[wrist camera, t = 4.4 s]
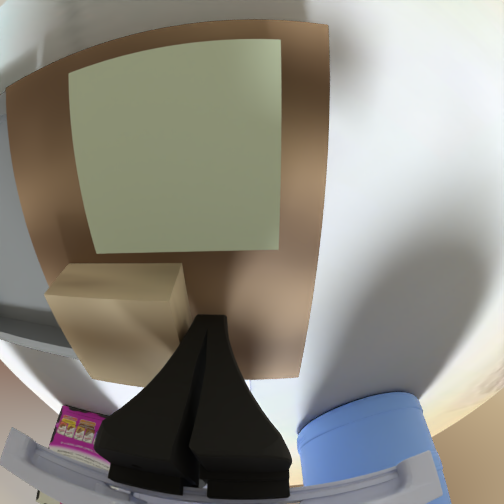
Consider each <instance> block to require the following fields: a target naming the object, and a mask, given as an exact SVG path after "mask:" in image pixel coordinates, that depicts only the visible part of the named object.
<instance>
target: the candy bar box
mask: <svg viewBox="0 0 504 504" xmlns="http://www.w3.org/2000/svg"><path fill="white" fill-rule="evenodd" d="M107 417H109V416H106V415H101V414H97V413H92V412H88V411H84V410H80V409H76V408H72V407H68V406H65V405H63V406H62V408H61V411H60V414H59V417H58V420H57V423H56V425H55V429H54V432H53V435H52V438H51V441H50V444H49V448H48V449H50V450H53V451H55V452H57V453H60V454H62V455H64V456H67V457H69V458H72V459H74V460H77V461H80V462H83V463H85V464H88V465H91V466H94V467H97V468H100V469H104V470H107V471H109V469H110V464H111V463H110V462H108V461H107V460H106V459H104V458H103V457H101V456H100V455H99V454H98V453H96V452H95V450H94V448H93V447H94V443H95V439H96V436H97V432H98V429H99V427H100V425H101V423H102V421H103V420H104V419H106V418H107ZM110 487H111V488H113V489H116V490H118V488H116V487H113V486H110ZM36 501H37V502H38V503H40V504H62V503H61V502H59V501H57V500H55V499H53V498H51V497H49V496H48V495H46V494H44V493H42V492H41V491H39V490H38V492H37V497H36Z"/></svg>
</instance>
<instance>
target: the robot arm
mask: <svg viewBox="0 0 504 504" xmlns="http://www.w3.org/2000/svg"><path fill="white" fill-rule="evenodd" d="M93 448H94V450H95V452H96V453H98V454H99V455H100V456H101V457H103V458H104V459H106V460H107V461H108V462H110V463H111V464H110V469H109V471H107V470H104V469H100V468H97V467H94V466H91V465H88V464H85V463H83V462H80V461H77V460H74V459H72V458H69V457H67V456H64V455H62V454H60V453H57V452H55V451H53V450H50V449H48V448H46V447H44V446H42V445H40V444H38V443H36V441H34V440H33V439H32V438H30V437H29V436H27V435H25V434H24V433H22V432H20V431H18V430H17V429H15V428H13V427H12V428H11V430H10V433H9V435H8V438H7V441H6V444H5V447H4V450H3V453H2V456H1V459H0V465H1V466H3V467H4V468H5V469H7V470H8V471H10V472H11V473H13V474H14V475H16V476H17V477H19V478H20V479H22V480H23V481H25V482H26V483H28V484H29V485H31V486H33V487H34V488H36V489H37V490H39V491H41V492H42V493H44V494H46V495H48V496H49V497H51V498H53V499H55V500H57V501H59V502H61V503H62V504H287V503H297V502H300V503H299V504H426V503H428V502H430V501H432V500H434V499H436V498H438V497H440V496H442V495H443V492H442V488H441V484H440V481H439V477H438V474H437V470H436V467H435V464H434V461H433V458H432V454H431V451H429V450H428V451H425V452H423V453H420V454H418V455H415V456H413V457H410V458H407V459H405V460H403V461H401V462H400V463H399V464H397V466H394V467H391V468H387V469H384V470H381V471H377V472H374V473H370V474H366V475H362V476H358V477H354V478H350V479H345V480H340V481H335V482H330V483H324V484H318V485H311V486H303V487H294V488H289V468H290V466H291V464H292V458H291V454H290V452H289V450H288V448H287V446H286V444H285V442H284V440H283V438H282V436H281V434H280V433H279V431H278V430H277V429H276V428H275V427H274V425H273V424H272V423H271V422H270V420H269V419H268V418H267V416H266V415H265V413H264V412H263V411H262V409H261V408H260V406H259V404H258V403H257V401H256V400H255V398H254V397H253V395H252V393H251V384H250V380H244V378H243V376H242V374H241V372H240V369H239V367H238V364H237V362H236V359H235V357H234V354H233V351H232V347H231V344H230V340H229V334H228V323H227V316H226V315H210V314H197V315H196V316H195V318H194V320H193V322H192V324H191V326H190V328H189V330H188V331H187V333H186V335H185V336H184V338H183V340H182V341H181V343H180V344H179V346H178V347H177V349H176V350H175V352H174V353H173V355H172V356H171V357H170V359H169V360H168V361H167V363H166V364H165V365H164V367H163V368H162V369H161V370H160V372H159V373H158V374H157V375H156V376H155V377H154V378H153V379H152V380H151V382H150V383H149V384H148V385H147V386H146V387H145V388H144V389H143V390H142V391H141V392H139V393H138V394H137V395H136V396H135V397H134V398H133V399H131V400H130V401H129V402H128V403H127V404H125V405H124V406H123V407H122V408H120V409H119V410H117V411H116V412H114V413H113V414H112V415H110V416H109V417H107V418H106V419H104V420H103V421H102V423H101V425H100V427H99V429H98V432H97V436H96V439H95V443H94V447H93ZM110 486H113V487H116V488H118V490H116V489H113V488H111V487H110Z"/></svg>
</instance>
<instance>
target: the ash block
mask: <svg viewBox="0 0 504 504" xmlns="http://www.w3.org/2000/svg"><path fill="white" fill-rule="evenodd" d="M44 296H45V298H46V300H47V302H48V304H49V306H50V308H51V310H52V312H53V314H54V316H55V318H56V320H57V322H58V324H59V326H60V328H61V330H62V331H63V333H64V335H65V337H66V338H67V340H68V342H69V344H70V345H71V347H72V349H73V350H74V352H75V353H76V355H77V357H78V358H79V360H80V361H81V363H82V364H83V366H84V368H85V369H86V371H87V372H88V374H89V375H90V376H91V378H92V379H96V380H101V381H106V382H112V383H118V384H124V385H131V386H138V387H146V386H147V385H148V384H149V383H150V382H151V380H152V379H153V378H154V377H155V376H156V375H157V374H158V373H159V372H160V370H161V369H162V368H163V367H164V365H165V364H166V363H167V361H168V360H169V359H170V357H171V356H172V355H173V353H174V352H175V350H176V349H177V347H178V346H179V344H180V343H181V341H182V340H183V338H184V336H185V335H186V333H187V331H188V330H189V328H190V326H191V324H192V317H191V311H190V306H189V301H188V295H187V290H186V284H185V278H184V272H183V266H182V263H69V264H68V265H67V266H66V267H65V269H64V270H63V271H62V272H61V273H60V275H59V276H58V277H57V278H56V280H55V281H54V282H53V283H52V285H51V286H50V287H49V288H48V290H47V291H46V292H45V293H44Z"/></svg>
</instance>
